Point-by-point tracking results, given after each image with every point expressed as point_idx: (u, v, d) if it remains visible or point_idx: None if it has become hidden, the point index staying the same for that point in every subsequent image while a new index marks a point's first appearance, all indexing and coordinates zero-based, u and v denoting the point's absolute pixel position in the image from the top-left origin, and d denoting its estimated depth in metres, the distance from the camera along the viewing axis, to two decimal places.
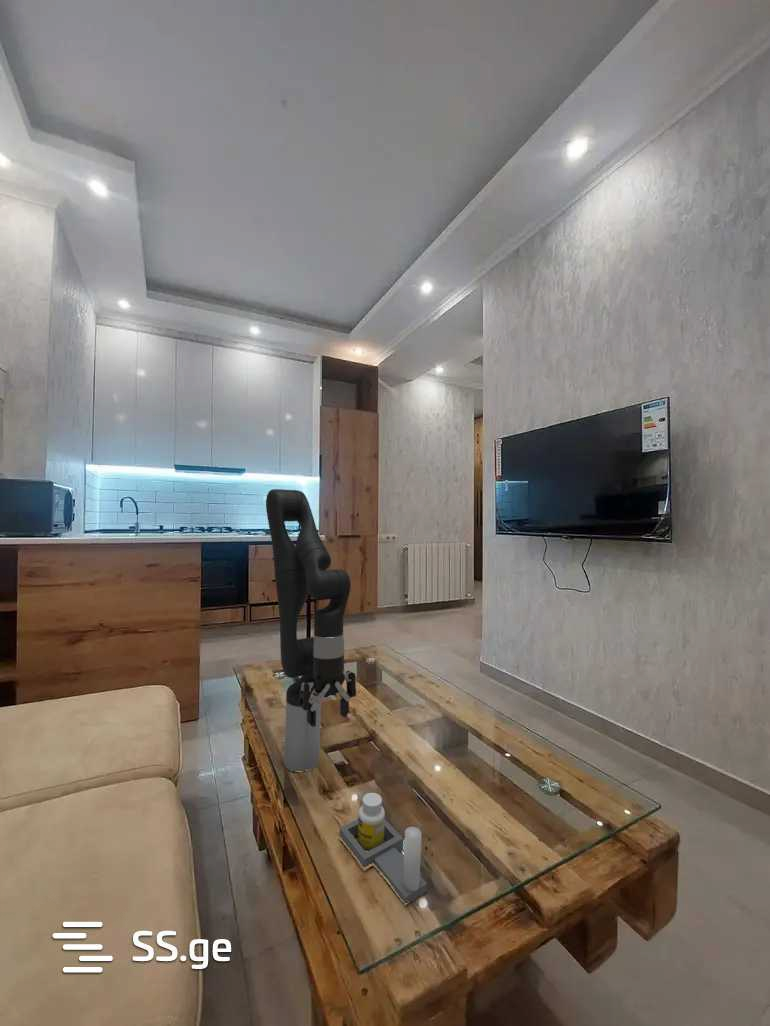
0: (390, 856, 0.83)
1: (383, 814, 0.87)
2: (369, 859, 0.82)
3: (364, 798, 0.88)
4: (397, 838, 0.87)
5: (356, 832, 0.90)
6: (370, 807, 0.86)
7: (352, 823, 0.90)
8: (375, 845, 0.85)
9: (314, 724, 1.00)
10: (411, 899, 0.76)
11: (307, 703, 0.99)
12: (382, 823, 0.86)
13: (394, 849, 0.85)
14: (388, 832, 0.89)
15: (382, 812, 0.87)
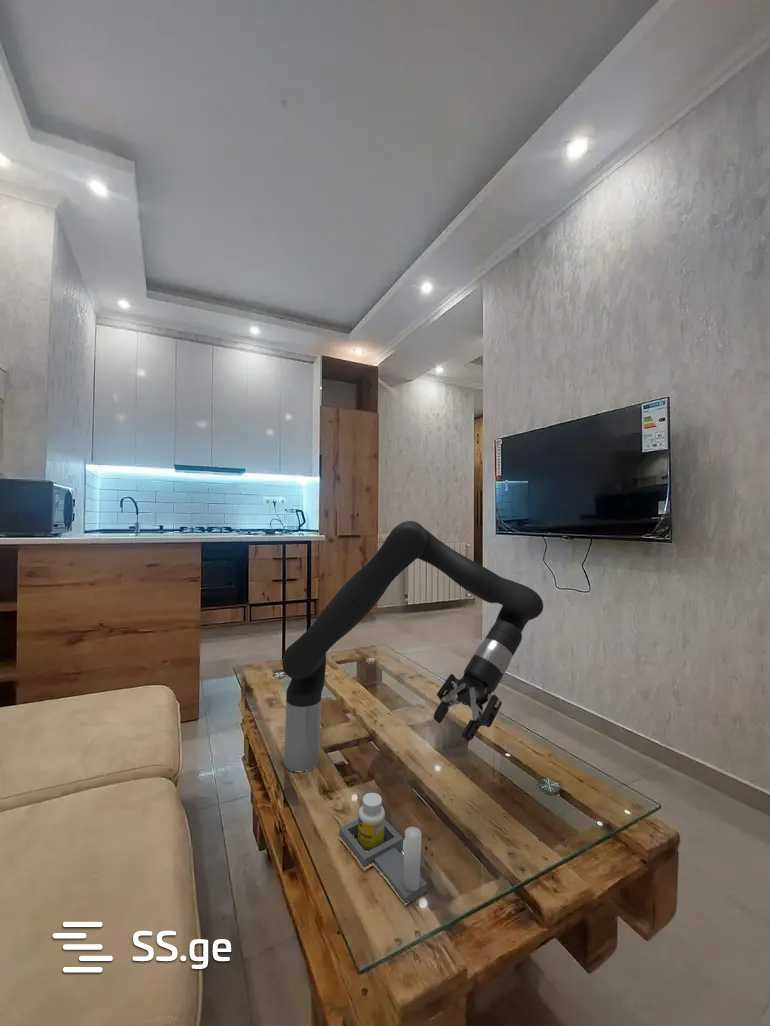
0: (390, 856, 0.83)
1: (383, 814, 0.87)
2: (369, 859, 0.82)
3: (364, 798, 0.88)
4: (397, 838, 0.87)
5: (356, 832, 0.90)
6: (370, 807, 0.86)
7: (352, 823, 0.90)
8: (375, 845, 0.85)
9: None
10: (411, 899, 0.76)
11: None
12: (382, 823, 0.86)
13: (394, 849, 0.85)
14: (388, 832, 0.89)
15: (382, 812, 0.87)
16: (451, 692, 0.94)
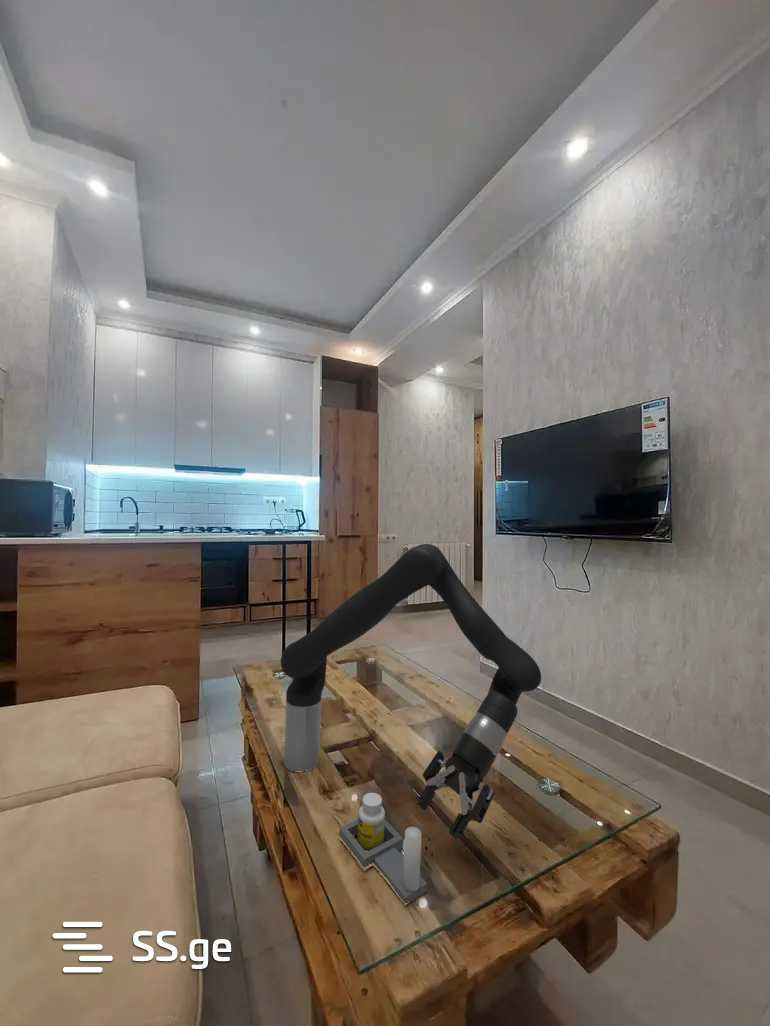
0: (390, 856, 0.83)
1: (383, 814, 0.87)
2: (369, 859, 0.82)
3: (364, 798, 0.88)
4: (397, 838, 0.87)
5: (356, 832, 0.90)
6: (370, 807, 0.86)
7: (352, 823, 0.90)
8: (375, 845, 0.85)
9: None
10: (411, 899, 0.76)
11: None
12: (382, 823, 0.86)
13: (394, 849, 0.85)
14: (388, 832, 0.89)
15: (382, 812, 0.87)
16: (438, 775, 0.85)
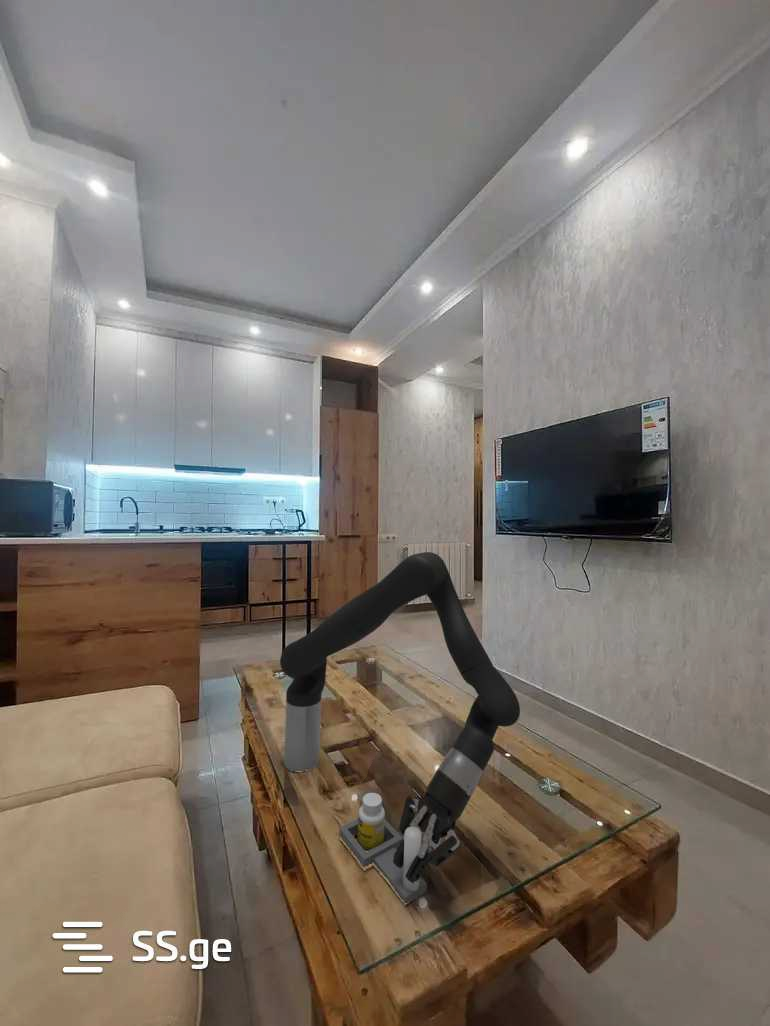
0: (390, 856, 0.83)
1: (383, 814, 0.87)
2: (369, 859, 0.82)
3: (364, 798, 0.88)
4: (397, 838, 0.87)
5: (356, 832, 0.90)
6: (370, 807, 0.86)
7: (352, 823, 0.90)
8: (375, 845, 0.85)
9: None
10: (411, 899, 0.76)
11: None
12: (382, 823, 0.86)
13: (394, 849, 0.85)
14: (388, 832, 0.89)
15: (382, 812, 0.87)
16: (413, 823, 0.80)
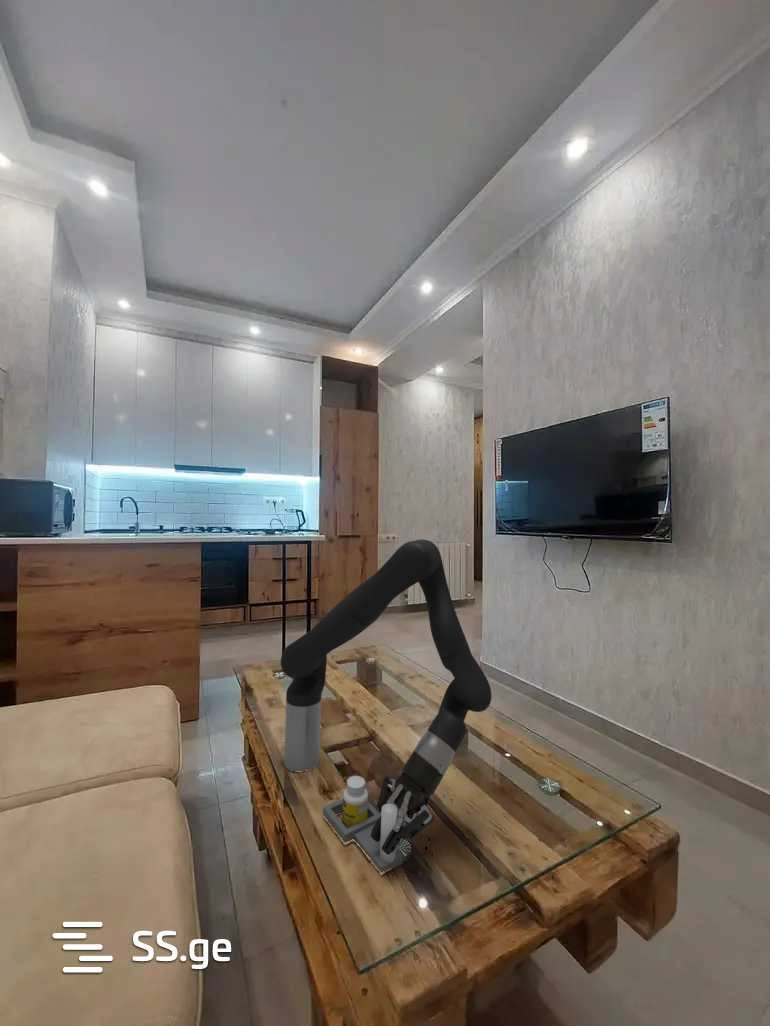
0: (369, 832, 0.89)
1: (366, 796, 0.92)
2: (349, 834, 0.88)
3: (348, 780, 0.93)
4: (377, 816, 0.93)
5: (339, 811, 0.96)
6: (353, 789, 0.91)
7: (335, 803, 0.96)
8: None
9: None
10: None
11: None
12: (365, 804, 0.91)
13: (373, 826, 0.91)
14: (369, 811, 0.95)
15: (365, 794, 0.92)
16: (389, 800, 0.86)
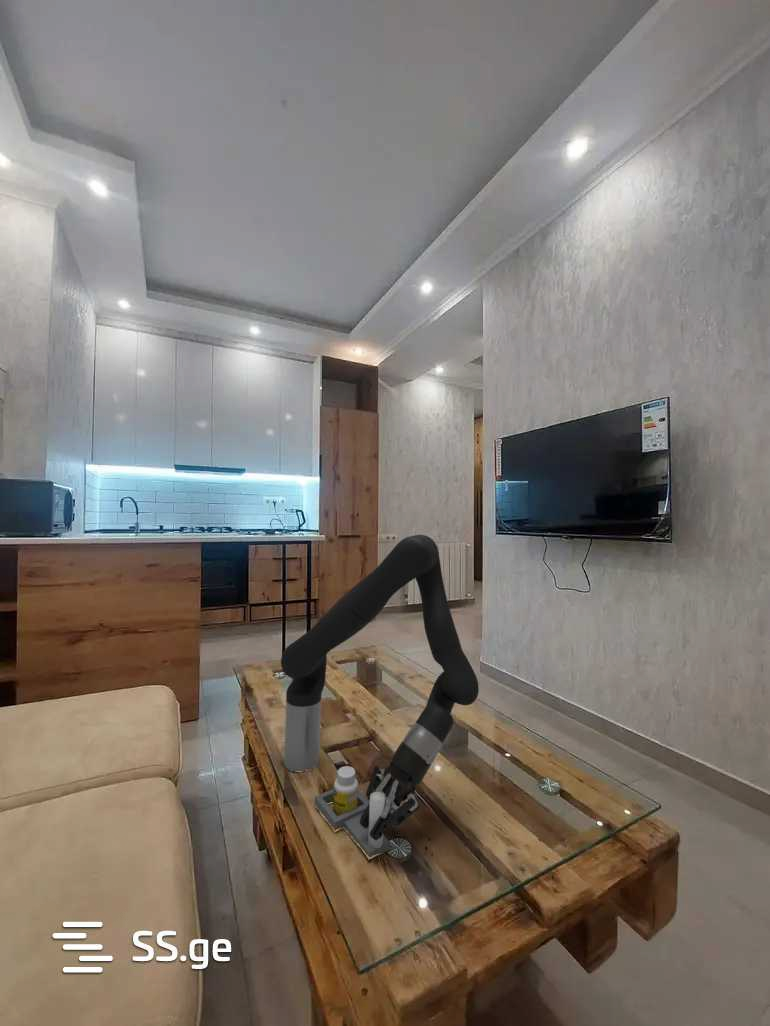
0: (359, 820, 0.92)
1: (356, 785, 0.95)
2: (339, 822, 0.91)
3: (339, 770, 0.96)
4: (366, 805, 0.96)
5: (330, 800, 0.99)
6: (343, 778, 0.94)
7: (327, 792, 0.99)
8: None
9: None
10: None
11: None
12: (355, 793, 0.95)
13: None
14: (359, 800, 0.98)
15: (355, 783, 0.96)
16: (378, 789, 0.89)
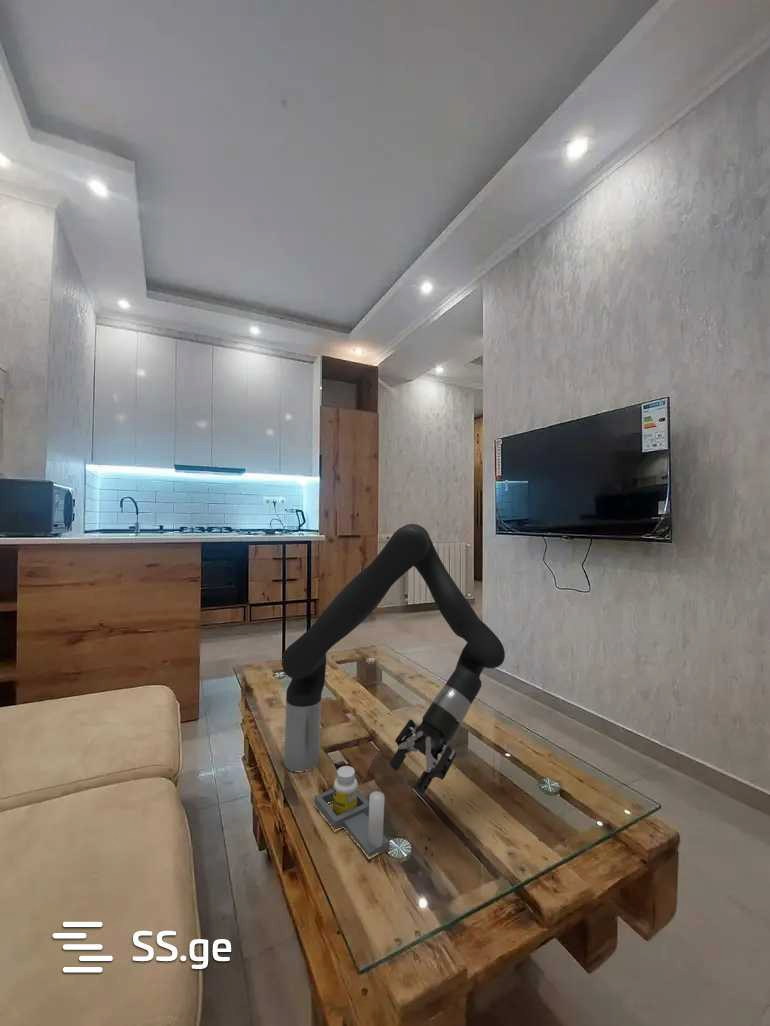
0: (358, 819, 0.93)
1: (355, 785, 0.96)
2: (339, 822, 0.91)
3: (339, 770, 0.96)
4: (366, 804, 0.96)
5: (330, 800, 0.99)
6: (343, 778, 0.94)
7: (326, 792, 1.00)
8: None
9: None
10: None
11: None
12: (354, 793, 0.95)
13: (363, 814, 0.94)
14: (359, 800, 0.98)
15: (355, 783, 0.96)
16: (408, 739, 0.95)
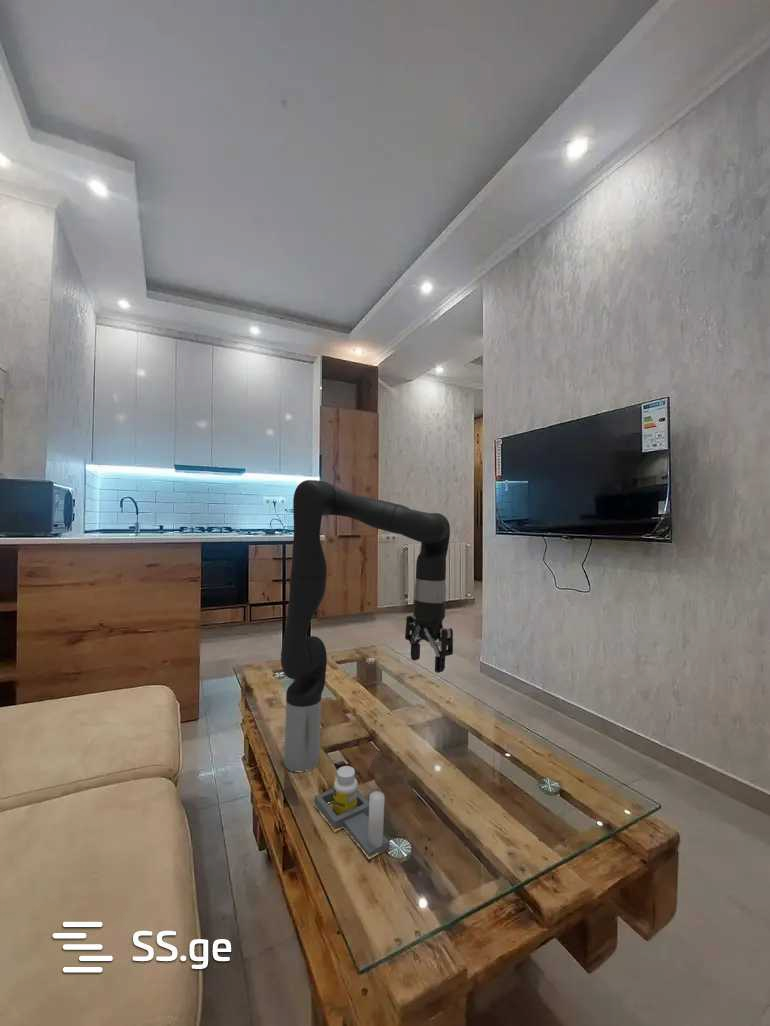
0: (358, 819, 0.93)
1: (355, 785, 0.95)
2: (339, 822, 0.91)
3: (339, 770, 0.96)
4: (366, 804, 0.96)
5: (330, 800, 0.99)
6: (343, 778, 0.94)
7: (326, 792, 1.00)
8: None
9: None
10: None
11: None
12: (354, 793, 0.95)
13: (363, 814, 0.94)
14: (359, 800, 0.98)
15: (355, 783, 0.96)
16: (413, 635, 1.03)
